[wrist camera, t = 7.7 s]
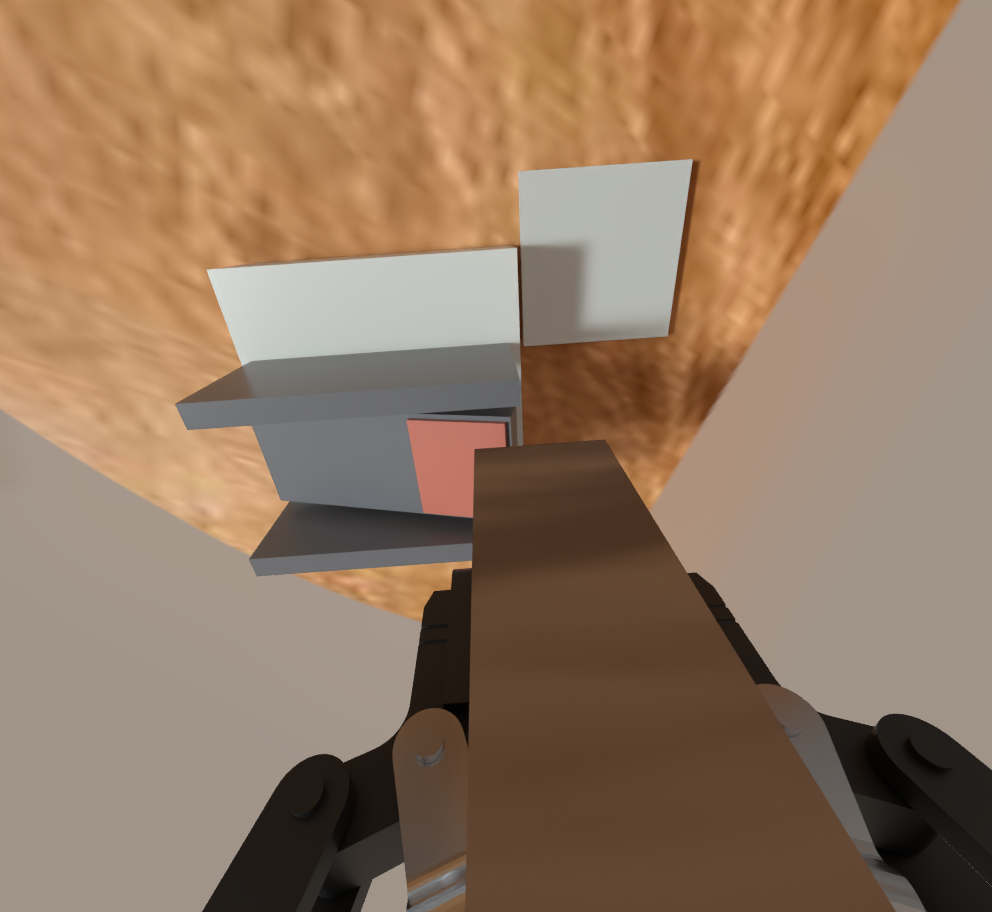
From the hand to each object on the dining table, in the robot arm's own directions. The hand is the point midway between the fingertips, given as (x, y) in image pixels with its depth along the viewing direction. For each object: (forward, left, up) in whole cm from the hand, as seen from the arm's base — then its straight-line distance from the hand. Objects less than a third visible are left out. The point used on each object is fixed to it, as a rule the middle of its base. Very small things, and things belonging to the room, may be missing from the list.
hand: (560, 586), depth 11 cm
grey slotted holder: (0, -7, -15) cm, 16 cm away
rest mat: (-7, +4, -15) cm, 17 cm away
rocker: (0, -7, -8) cm, 10 cm away
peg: (0, 0, -4) cm, 4 cm away
